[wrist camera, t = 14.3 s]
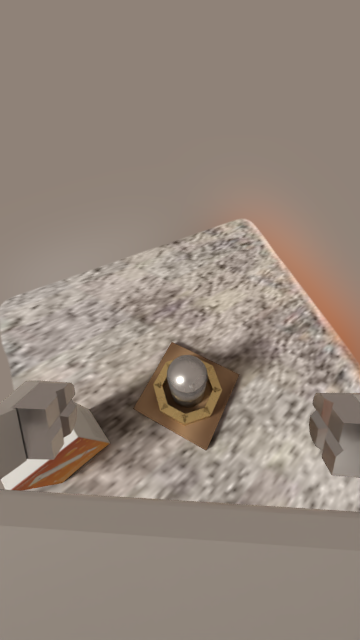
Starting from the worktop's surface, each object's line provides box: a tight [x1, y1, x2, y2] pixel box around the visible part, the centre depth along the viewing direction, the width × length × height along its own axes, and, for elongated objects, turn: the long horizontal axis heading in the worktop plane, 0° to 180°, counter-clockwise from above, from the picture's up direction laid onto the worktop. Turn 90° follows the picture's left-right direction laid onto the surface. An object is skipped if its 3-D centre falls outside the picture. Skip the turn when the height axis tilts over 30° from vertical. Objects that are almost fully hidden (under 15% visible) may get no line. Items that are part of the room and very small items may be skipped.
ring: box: [153, 360, 222, 426], centre depth 40 cm, size 9×9×2 cm
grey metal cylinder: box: [167, 355, 208, 408], centre depth 37 cm, size 5×5×10 cm
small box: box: [1, 402, 110, 491], centre depth 34 cm, size 8×6×13 cm
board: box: [133, 342, 239, 450], centre depth 42 cm, size 12×12×1 cm
